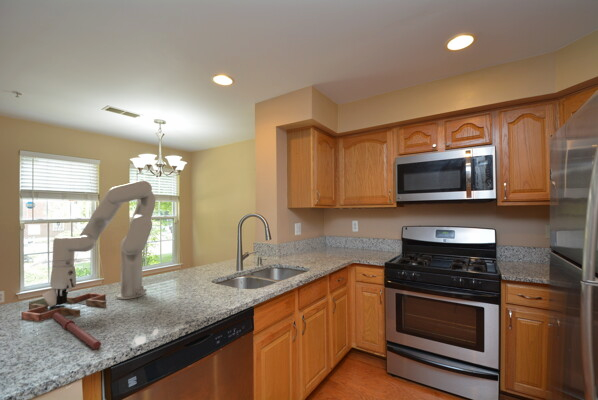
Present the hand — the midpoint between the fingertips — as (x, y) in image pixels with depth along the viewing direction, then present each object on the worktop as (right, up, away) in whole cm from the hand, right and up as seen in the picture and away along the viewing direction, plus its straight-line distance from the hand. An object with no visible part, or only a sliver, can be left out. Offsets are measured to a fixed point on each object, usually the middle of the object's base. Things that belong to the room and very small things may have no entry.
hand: (61, 303), depth 121 cm
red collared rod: (+27, -1, -25) cm, 36 cm away
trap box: (+3, -2, 0) cm, 3 cm away
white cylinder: (-3, -1, +2) cm, 4 cm away
